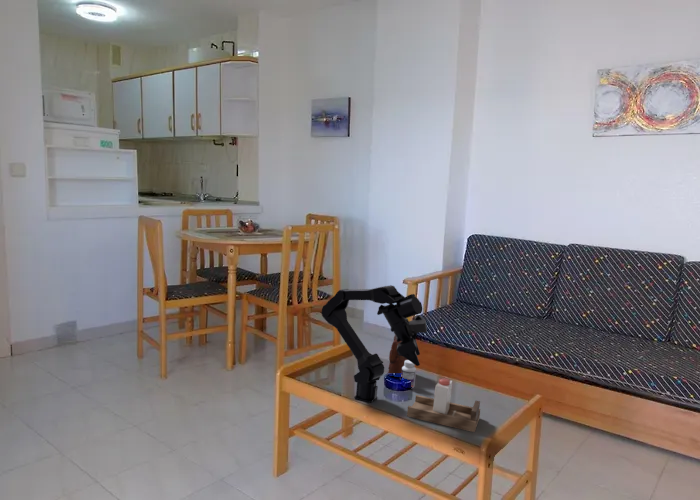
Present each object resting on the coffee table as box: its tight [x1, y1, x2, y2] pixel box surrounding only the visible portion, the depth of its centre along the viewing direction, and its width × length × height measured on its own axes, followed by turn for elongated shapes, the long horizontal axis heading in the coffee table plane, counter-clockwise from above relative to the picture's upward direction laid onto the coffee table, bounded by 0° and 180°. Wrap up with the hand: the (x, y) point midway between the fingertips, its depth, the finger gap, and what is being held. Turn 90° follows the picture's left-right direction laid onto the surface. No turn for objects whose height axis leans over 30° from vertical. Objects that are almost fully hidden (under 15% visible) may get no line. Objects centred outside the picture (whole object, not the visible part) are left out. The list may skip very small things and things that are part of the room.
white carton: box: [433, 377, 453, 414], centre depth 169 cm, size 4×8×11 cm, turn 159°
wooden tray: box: [406, 394, 481, 433], centre depth 169 cm, size 22×12×6 cm, turn 69°
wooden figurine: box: [387, 335, 408, 374], centre depth 207 cm, size 12×6×18 cm, turn 151°
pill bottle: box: [400, 360, 417, 389], centre depth 195 cm, size 5×5×10 cm
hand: (418, 359), depth 174 cm, fingers open, 9 cm apart
